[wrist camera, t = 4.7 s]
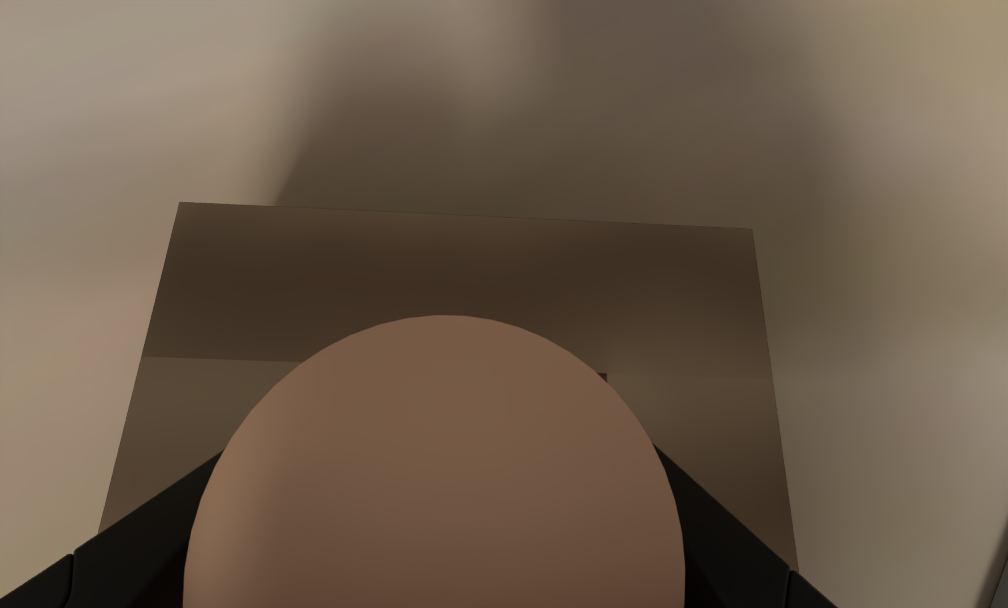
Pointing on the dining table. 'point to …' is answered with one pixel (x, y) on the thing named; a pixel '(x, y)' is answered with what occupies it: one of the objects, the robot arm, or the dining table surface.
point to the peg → (438, 483)
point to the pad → (1001, 591)
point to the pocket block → (462, 292)
